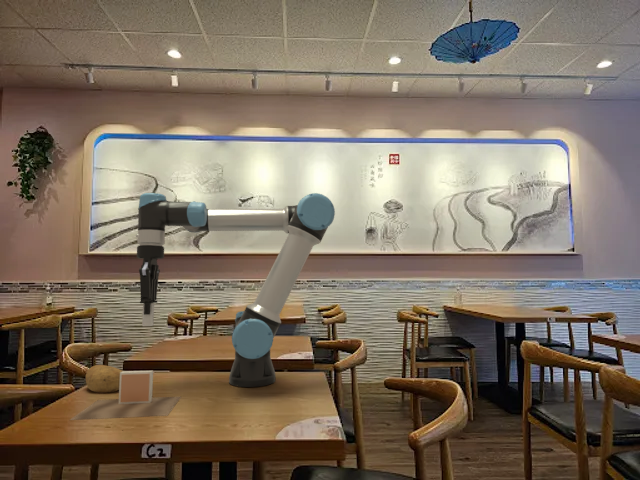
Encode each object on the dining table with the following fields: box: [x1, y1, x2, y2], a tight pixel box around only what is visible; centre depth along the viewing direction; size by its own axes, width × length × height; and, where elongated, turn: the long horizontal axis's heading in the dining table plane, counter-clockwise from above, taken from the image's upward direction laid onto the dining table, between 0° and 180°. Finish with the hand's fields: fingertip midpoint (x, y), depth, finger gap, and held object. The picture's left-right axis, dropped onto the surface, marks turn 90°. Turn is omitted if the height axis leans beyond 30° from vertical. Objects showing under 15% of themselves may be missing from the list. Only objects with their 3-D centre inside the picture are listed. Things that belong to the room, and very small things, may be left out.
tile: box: [118, 370, 154, 404], centre depth 108 cm, size 8×2×8 cm, turn 98°
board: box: [69, 396, 182, 421], centre depth 104 cm, size 22×16×1 cm
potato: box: [85, 364, 124, 394], centre depth 121 cm, size 10×14×8 cm
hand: (147, 325), depth 118 cm, fingers closed
